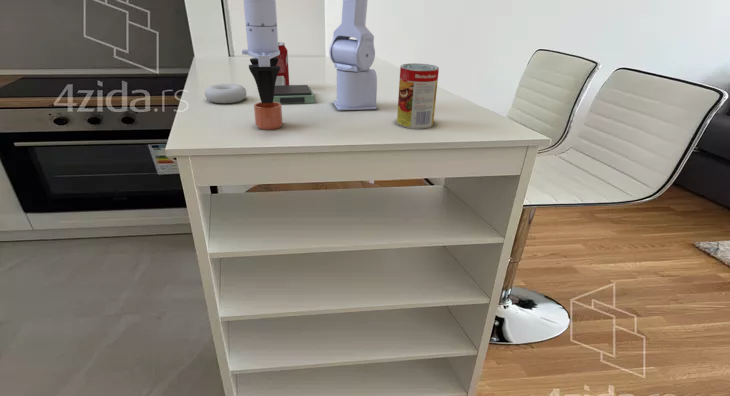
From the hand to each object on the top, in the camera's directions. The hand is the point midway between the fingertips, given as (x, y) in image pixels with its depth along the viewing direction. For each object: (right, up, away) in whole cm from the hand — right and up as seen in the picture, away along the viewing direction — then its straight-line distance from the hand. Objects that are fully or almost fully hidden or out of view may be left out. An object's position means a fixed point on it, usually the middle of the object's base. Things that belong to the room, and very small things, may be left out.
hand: (266, 98), depth 85 cm
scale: (+1, +6, +25) cm, 25 cm away
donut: (-15, +4, +21) cm, 27 cm away
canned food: (+31, -4, +7) cm, 32 cm away
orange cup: (0, -5, +3) cm, 6 cm away
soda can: (-5, +11, +36) cm, 38 cm away
